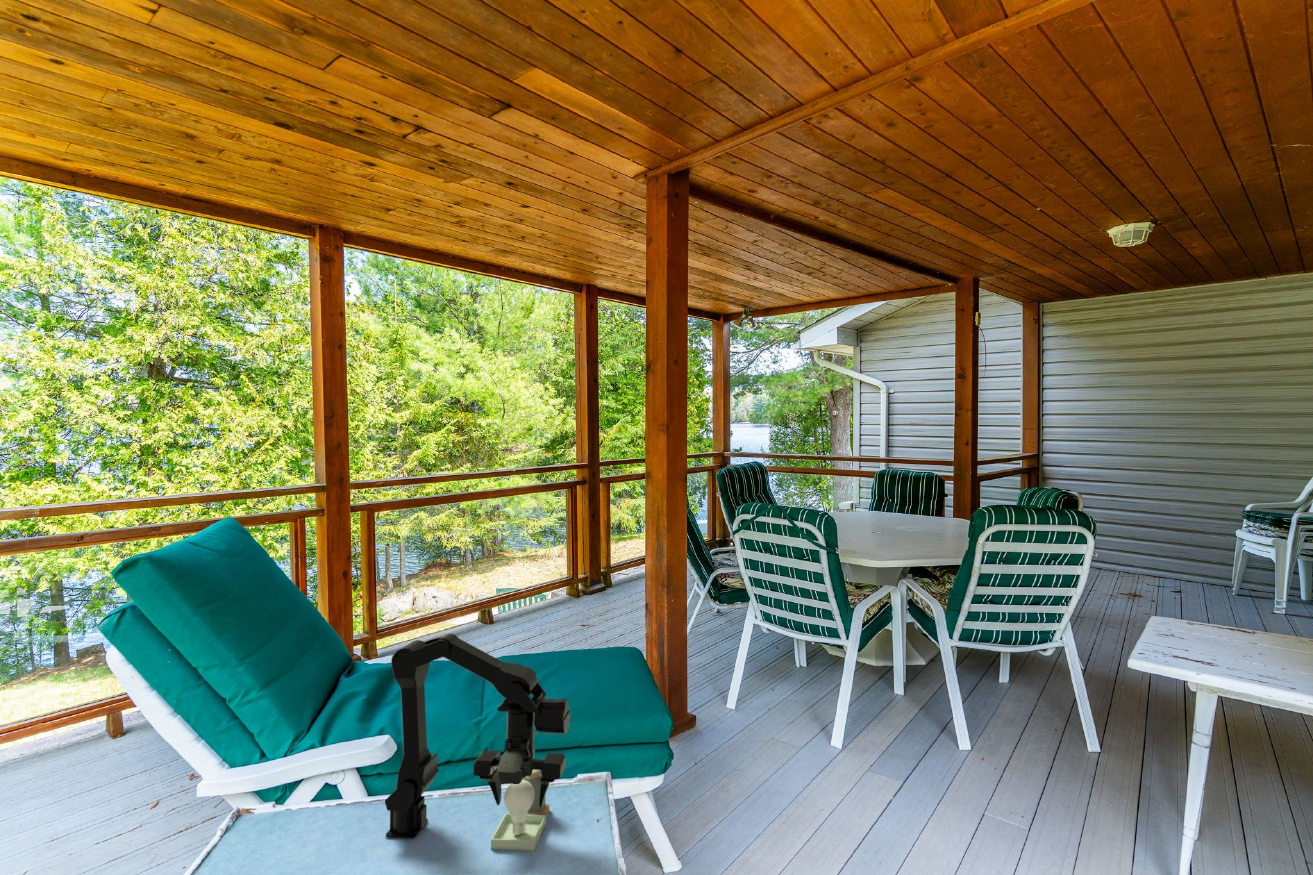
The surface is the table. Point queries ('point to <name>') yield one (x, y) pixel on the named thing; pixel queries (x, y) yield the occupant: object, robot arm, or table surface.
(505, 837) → the tray
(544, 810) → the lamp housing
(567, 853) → the table surface
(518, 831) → the lightbulb
